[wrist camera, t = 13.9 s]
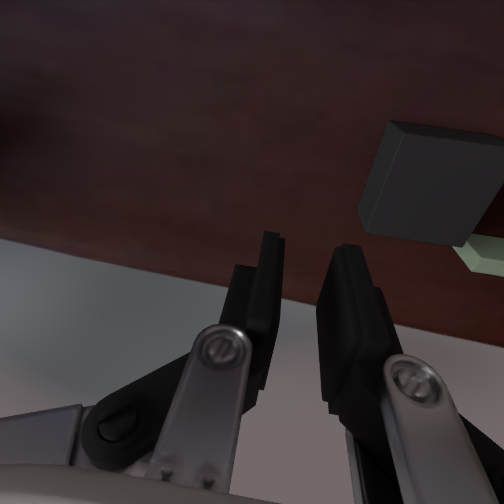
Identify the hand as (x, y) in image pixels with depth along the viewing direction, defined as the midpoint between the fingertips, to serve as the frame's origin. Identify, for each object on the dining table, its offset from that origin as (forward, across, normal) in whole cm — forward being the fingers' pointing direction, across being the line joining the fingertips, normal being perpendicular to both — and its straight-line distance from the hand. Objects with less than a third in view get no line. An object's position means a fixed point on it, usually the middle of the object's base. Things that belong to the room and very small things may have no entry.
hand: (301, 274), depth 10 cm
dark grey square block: (+13, -8, 0) cm, 16 cm away
